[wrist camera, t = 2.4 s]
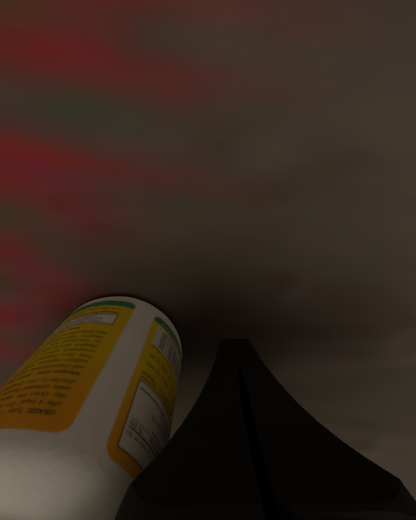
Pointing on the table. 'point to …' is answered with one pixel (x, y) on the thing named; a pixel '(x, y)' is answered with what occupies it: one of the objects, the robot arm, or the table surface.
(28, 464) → the supplement bottle
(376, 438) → the table surface
